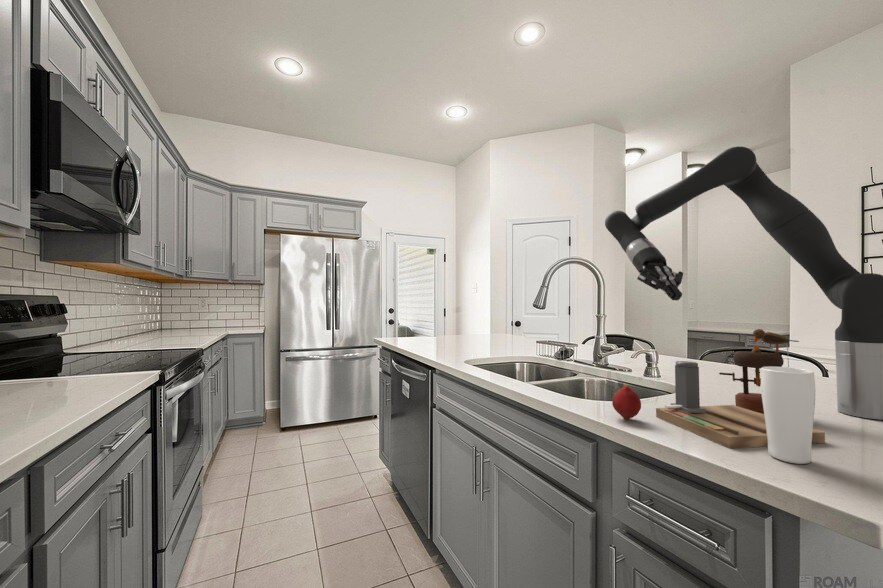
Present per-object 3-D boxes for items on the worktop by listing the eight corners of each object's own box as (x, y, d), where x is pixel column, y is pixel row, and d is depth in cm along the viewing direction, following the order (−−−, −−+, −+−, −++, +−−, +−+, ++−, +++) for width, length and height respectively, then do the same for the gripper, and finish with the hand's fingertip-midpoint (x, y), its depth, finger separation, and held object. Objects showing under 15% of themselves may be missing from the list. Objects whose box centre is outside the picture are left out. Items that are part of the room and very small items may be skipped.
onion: (628, 414, 87) (627, 380, 87) (647, 422, 81) (646, 386, 82) (607, 416, 86) (606, 382, 86) (625, 424, 80) (624, 387, 80)
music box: (794, 411, 90) (791, 329, 90) (810, 423, 80) (807, 332, 81) (716, 403, 97) (714, 327, 98) (723, 413, 88) (720, 329, 89)
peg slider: (687, 406, 86) (686, 360, 86) (705, 412, 81) (704, 364, 81) (658, 407, 85) (657, 361, 85) (674, 413, 80) (673, 364, 80)
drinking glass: (760, 458, 62) (758, 369, 63) (764, 447, 67) (762, 364, 67) (817, 471, 57) (814, 374, 58) (817, 458, 62) (814, 369, 63)
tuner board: (733, 413, 88) (732, 402, 88) (825, 443, 69) (824, 429, 69) (656, 416, 85) (655, 405, 86) (729, 448, 67) (729, 433, 67)
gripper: (629, 245, 104) (661, 287, 91) (672, 246, 105) (709, 287, 93) (618, 266, 109) (647, 308, 96) (659, 267, 110) (693, 308, 98)
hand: (677, 298), depth 95 cm, fingers closed
